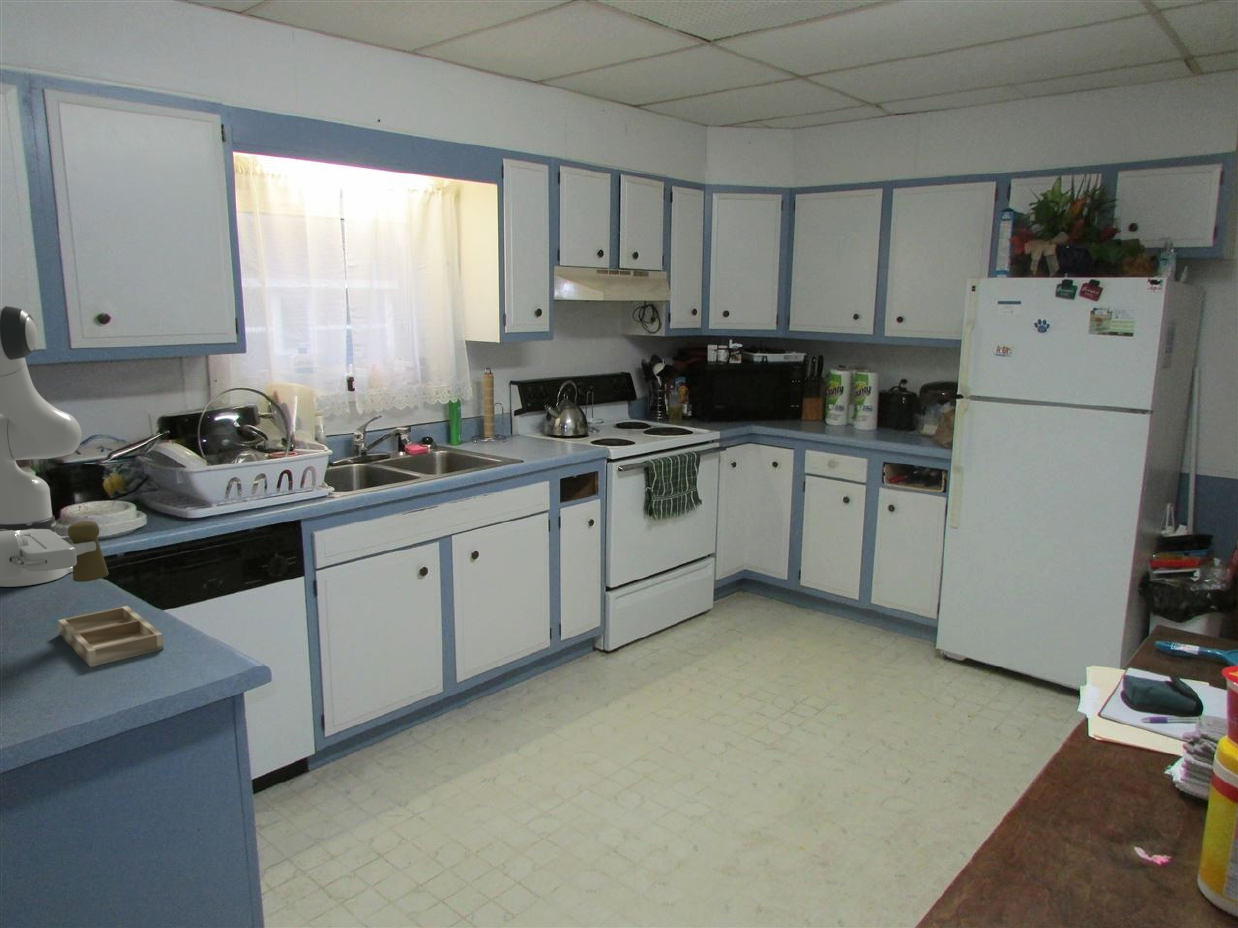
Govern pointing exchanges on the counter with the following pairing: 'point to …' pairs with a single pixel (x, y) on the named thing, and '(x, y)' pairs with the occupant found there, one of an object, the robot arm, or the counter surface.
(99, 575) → the cork
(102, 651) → the caddy
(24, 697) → the counter surface
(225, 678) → the counter surface
